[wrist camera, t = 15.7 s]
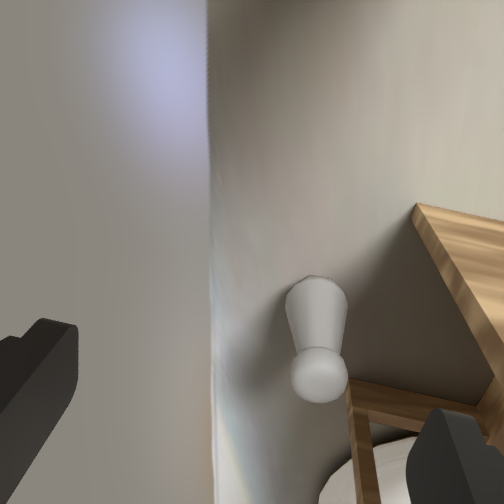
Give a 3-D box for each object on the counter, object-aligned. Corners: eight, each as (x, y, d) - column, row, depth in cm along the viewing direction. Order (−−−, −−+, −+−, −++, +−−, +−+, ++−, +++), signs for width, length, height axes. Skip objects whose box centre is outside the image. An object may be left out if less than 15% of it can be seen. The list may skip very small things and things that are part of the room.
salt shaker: (322, 326, 45) (327, 429, 34) (275, 299, 44) (263, 394, 33) (358, 286, 43) (376, 382, 31) (308, 256, 42) (308, 343, 30)
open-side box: (416, 202, 38) (545, 411, 18) (593, 241, 38) (938, 499, 17) (344, 387, 48) (372, 659, 28) (484, 419, 48) (618, 716, 27)
